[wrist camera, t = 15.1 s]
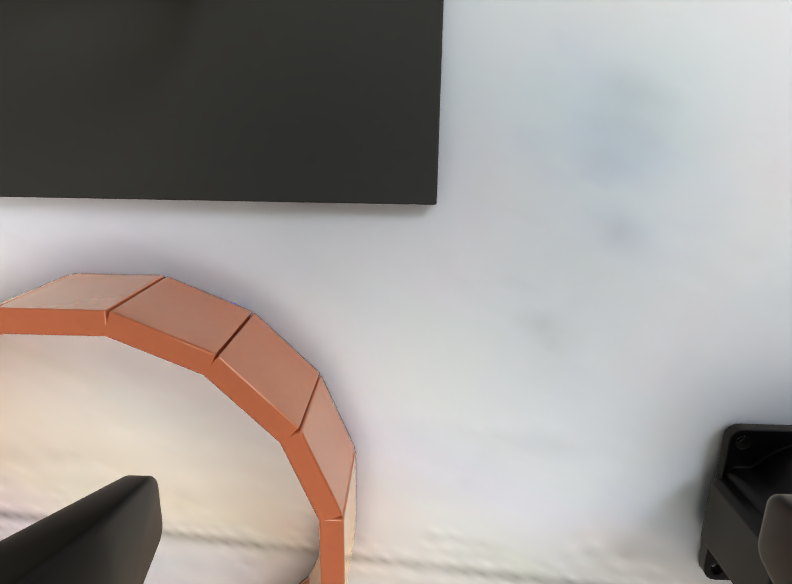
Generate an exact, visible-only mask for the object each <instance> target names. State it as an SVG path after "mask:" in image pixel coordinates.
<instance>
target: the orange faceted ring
mask: <svg viewBox="0 0 792 584" xmlns="http://www.w3.org/2000/svg"><path fill="white" fill-rule="evenodd" d="M251 313H252V312H251V311H250V310H247V309H245V308H242V307H240V306H238V305H235V304H233V303H230V302H228V301H225V300H223V299H220V298H218V297H216V296H213V295H211V294H208V293H206V292H203V291H201V290H199V289H196V288H194V287H191V286H189V285H186V284H184V283H182V282H179V281H177V280H174V279H172V278H169V277H165V278H164V277H163V276H162V275H119V274H72V275H66V276H64V277H62V278H59V279H57V280H54V281H52V282H49V283H47V284H44V285H42V286H40V287H37V288H35V289H32V290H30V291H27V292H25V293H22V294H20V295H18V296H15V297H13V298H10V299H8V300H5V301H3V302H1V303H0V335H2V334H37V335H78V336H107V337H109V338H112V339H114V340H117V341H119V342H122V343H124V344H127V345H130V346H132V347H135V348H137V349H140V350H142V351H145V352H147V353H150V354H152V355H155V356H157V357H160V358H162V359H165V360H167V361H170V362H172V363H175V364H177V365H180V366H182V367H185V368H187V369H190V370H192V371H195V372H197V373H200V374H203V375H204V376H205V377H206V378H208V379H209V380H210V381H211V382H212V383H213V384H214V385H215V386H217V387H218V388H219V389H220V390H221V391H222V392H223V393H224V394H226V395H227V396H228V397H229V398H230V399H231V400H232V401H234V402H235V403H236V404H237V405H238V406H239V407H240V408H241V409H243V410H244V411H245V412H246V413H247V414H248V415H249V416H250V417H252V418H253V419H254V420H255V421H256V422H257V423H258V424H260V425H261V426H262V427H263V428H264V429H265V430H266V431H267V432H269V433H270V434H271V435H272V436H273V437H274V438H275V439H277V440H278V441H279V442H280V443H281V445H282V447H283V449H284V451H285V453H286V455H287V457H288V459H289V461H290V463H291V465H292V467H293V469H294V471H295V473H296V475H297V477H298V479H299V481H300V483H301V485H302V487H303V489H304V491H305V493H306V495H307V497H308V499H309V501H310V503H311V505H312V507H313V509H314V511H315V513H316V515H317V517H318V519H319V543H320V555H319V557H318V559H317V561H316V563H315V565H314V567H313V569H312V571H311V573H310V576H309V577H308V578H307V579H306V580H304V581H303V582H302V583H301V584H347V582H348V575H349V568H350V561H351V555H352V548H353V541H354V534H355V527H356V452H355V451H354V445H353V443H352V441H351V439H350V436H349V434H348V432H347V430H346V428H345V426H344V424H343V421H342V419H341V417H340V415H339V413H338V411H337V409H336V406H335V404H334V402H333V400H332V398H331V396H330V394H329V391H328V389H327V387H326V385H325V383H324V381H323V379H322V377H318V376H319V372H318V371H317V370H316V369H315V368H313V367H312V366H311V365H310V364H309V363H308V362H307V361H306V360H305V359H304V358H303V357H302V356H301V355H299V354H298V353H297V352H296V351H295V350H294V349H293V348H292V347H291V346H290V345H289V344H288V343H287V342H286V341H284V340H283V339H282V338H281V337H280V336H279V335H278V334H277V333H276V332H275V331H274V330H273V329H272V328H270V327H269V326H268V325H267V324H266V323H265V322H264V321H263V320H262V319H261V318H260V317H259V316H258V315H256V314H253V315H252V316H251ZM250 316H251V317H250Z"/></svg>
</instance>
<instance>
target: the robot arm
mask: <svg viewBox="0 0 792 584" xmlns="http://www.w3.org/2000/svg"><path fill="white" fill-rule="evenodd" d="M740 436H744V438H743V440H742V441H740V442H736V441H737V439H738V438H739V437H740ZM161 534H162V515H161V507H160V498H159V489H158V484H157V481H156V479H155V478H153V477H152V476H134V475H129V476H125V477H122V478H121V479H119V480H117V481H115V482H113V483H111V484H109V485H107V486H105V487H103V488H101V489H99V490H98V491H96V492H94V493H92V494H90V495H88V496H86V497H84V498H82V499H80V500H78V501H76V502H75V503H73V504H71V505H69V506H67V507H65V508H63V509H61V510H59V511H57V512H55V513H53V514H52V515H50V516H48V517H46V518H44V519H42V520H40V521H38V522H36V523H34V524H32V525H31V526H29V527H27V528H25V529H23V530H21V531H19V532H17V533H15V534H13V535H11V536H9V537H8V538H6V539H4V540H2V541H0V584H143V583H144V580H145V578H146V575H147V572H148V570H149V567H150V565H151V562H152V560H153V557H154V554H155V552H156V549H157V547H158V544H159V541H160V538H161ZM701 539H702V540H703V544H702V549H701V554H700V559H699V565H700V567H701V569H702V570H703V572H704V573H705V575H706V576H707V577H708V578H710V579H714V580H730V581H731V582H732V584H792V425H764V424H735V425H733V426H731V427H729V428H728V429H727V430H726V431H725V433H724V436H723V441H722V446H721V451H720V456H719V461H718V466H717V472H716V477H715V479H714V481H713V482H712V483H711V487H710V492H709V497H708V502H707V508H706V513H705V518H704V523H703V528H702V534H701ZM714 564H717V565H716V566H713V565H714ZM712 566H713V567H712Z"/></svg>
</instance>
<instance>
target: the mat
mask: <svg viewBox="0 0 792 584" xmlns="http://www.w3.org/2000/svg"><path fill="white" fill-rule="evenodd" d="M443 1H444V0H0V197H48V198H102V199H155V200H209V201H262V202H316V203H369V204H423V205H435V204H436V203H437V176H438V146H439V117H440V88H441V59H442V30H443Z"/></svg>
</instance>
